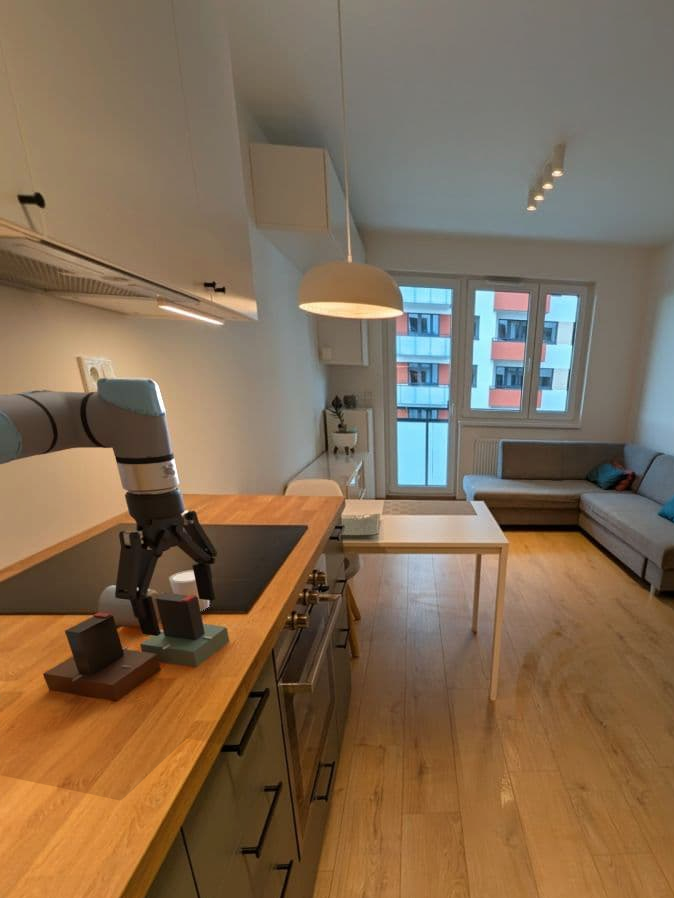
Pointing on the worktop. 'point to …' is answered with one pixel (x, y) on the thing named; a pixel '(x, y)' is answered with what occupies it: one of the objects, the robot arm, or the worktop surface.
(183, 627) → the dark upright block
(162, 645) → the green square base
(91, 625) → the red-tabbed dark slab
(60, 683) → the dark brown base plate
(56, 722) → the worktop surface
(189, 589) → the white cylinder
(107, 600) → the grey lying cylinder
